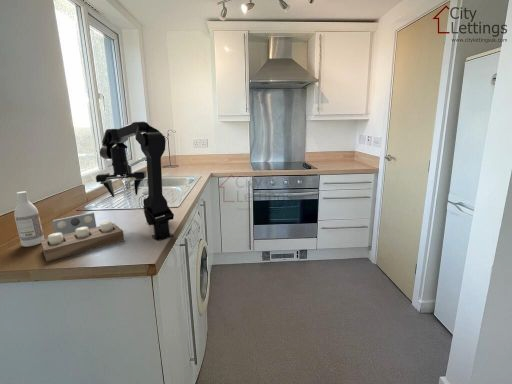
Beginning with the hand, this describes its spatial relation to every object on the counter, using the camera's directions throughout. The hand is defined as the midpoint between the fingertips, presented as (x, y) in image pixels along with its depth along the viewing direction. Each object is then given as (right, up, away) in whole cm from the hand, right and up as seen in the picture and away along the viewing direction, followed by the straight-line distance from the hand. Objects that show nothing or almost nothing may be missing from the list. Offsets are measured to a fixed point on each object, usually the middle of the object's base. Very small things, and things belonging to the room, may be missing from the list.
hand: (125, 196), depth 118 cm
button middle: (-7, -15, -17) cm, 24 cm away
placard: (-16, -16, -6) cm, 24 cm away
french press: (+9, -12, +8) cm, 17 cm away
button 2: (-1, -14, -12) cm, 19 cm away
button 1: (-13, -17, -22) cm, 31 cm away
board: (-7, -18, -17) cm, 25 cm away
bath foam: (-29, -18, -13) cm, 36 cm away
